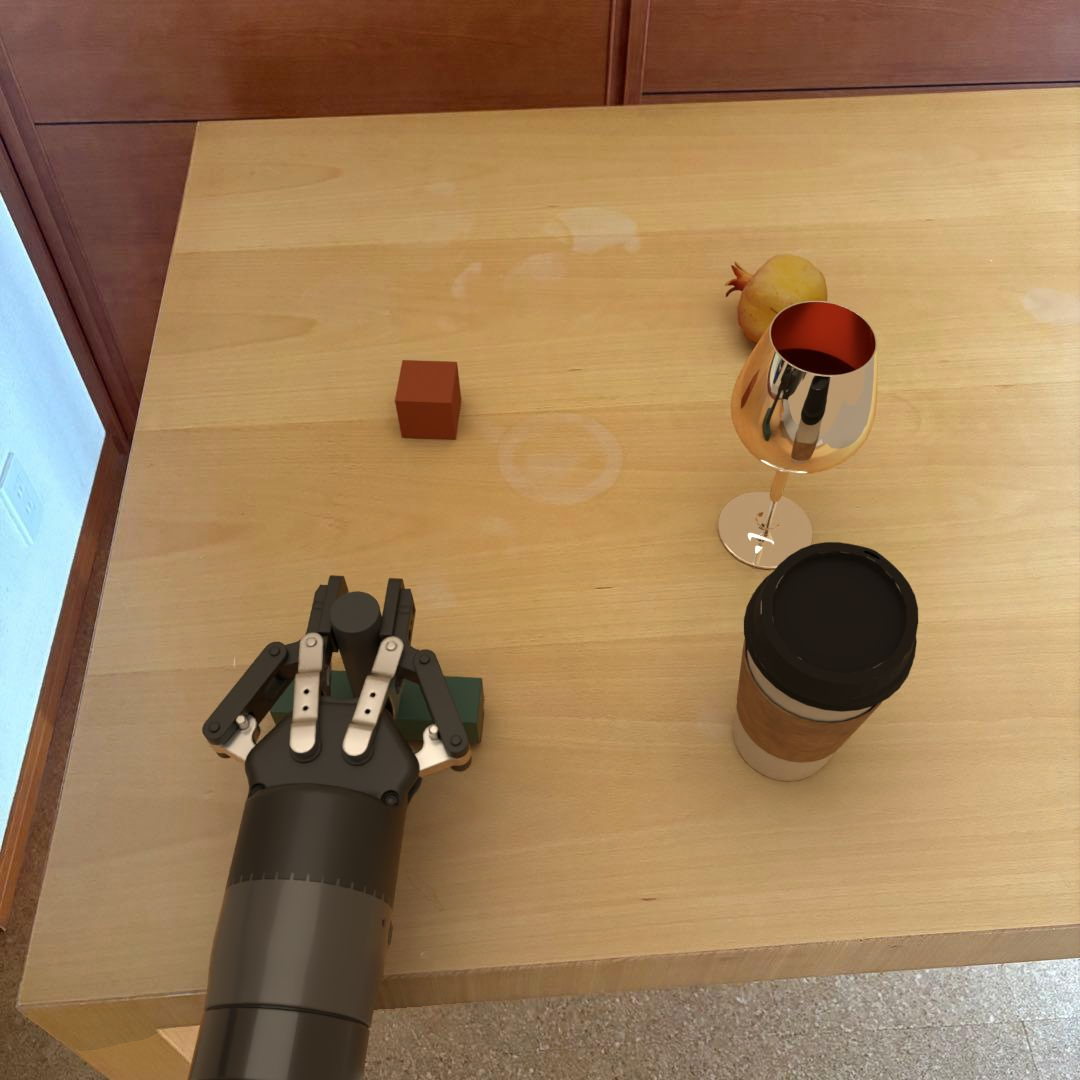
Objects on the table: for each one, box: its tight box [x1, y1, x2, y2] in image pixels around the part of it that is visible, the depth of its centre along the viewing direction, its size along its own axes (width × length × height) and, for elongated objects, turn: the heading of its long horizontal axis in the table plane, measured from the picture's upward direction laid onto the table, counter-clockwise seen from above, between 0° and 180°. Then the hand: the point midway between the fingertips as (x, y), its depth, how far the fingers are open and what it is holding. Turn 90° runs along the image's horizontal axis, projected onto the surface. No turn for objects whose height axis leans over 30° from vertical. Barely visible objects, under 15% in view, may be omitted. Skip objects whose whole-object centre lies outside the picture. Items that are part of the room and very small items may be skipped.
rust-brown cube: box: [394, 359, 462, 440], centre depth 73 cm, size 4×4×4 cm
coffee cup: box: [732, 541, 919, 782], centre depth 54 cm, size 8×8×15 cm
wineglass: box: [717, 301, 879, 570], centre depth 62 cm, size 8×8×18 cm
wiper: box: [269, 590, 485, 744], centre depth 56 cm, size 12×3×12 cm, turn 86°
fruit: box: [724, 253, 828, 344], centre depth 77 cm, size 7×7×10 cm
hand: (368, 585), depth 55 cm, fingers closed on wiper, 2 cm apart
